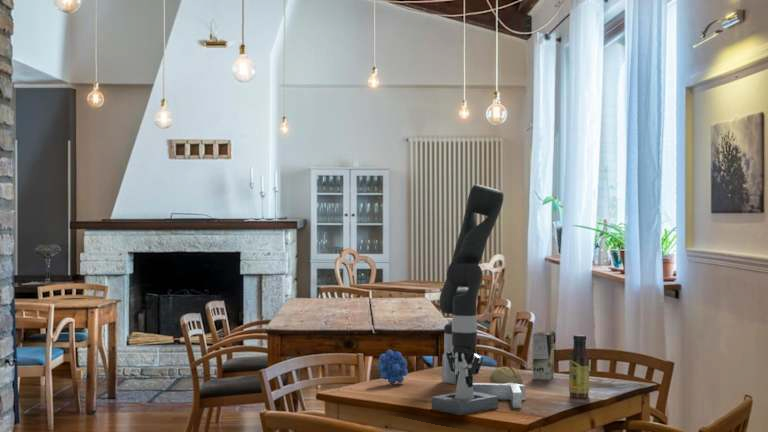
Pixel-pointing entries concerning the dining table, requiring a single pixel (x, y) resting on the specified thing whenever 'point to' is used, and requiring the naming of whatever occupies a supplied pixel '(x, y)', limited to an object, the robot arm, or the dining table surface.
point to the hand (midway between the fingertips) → (464, 387)
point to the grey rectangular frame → (464, 403)
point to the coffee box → (543, 355)
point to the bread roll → (506, 376)
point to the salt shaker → (463, 385)
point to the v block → (503, 391)
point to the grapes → (392, 366)
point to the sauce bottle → (579, 368)
